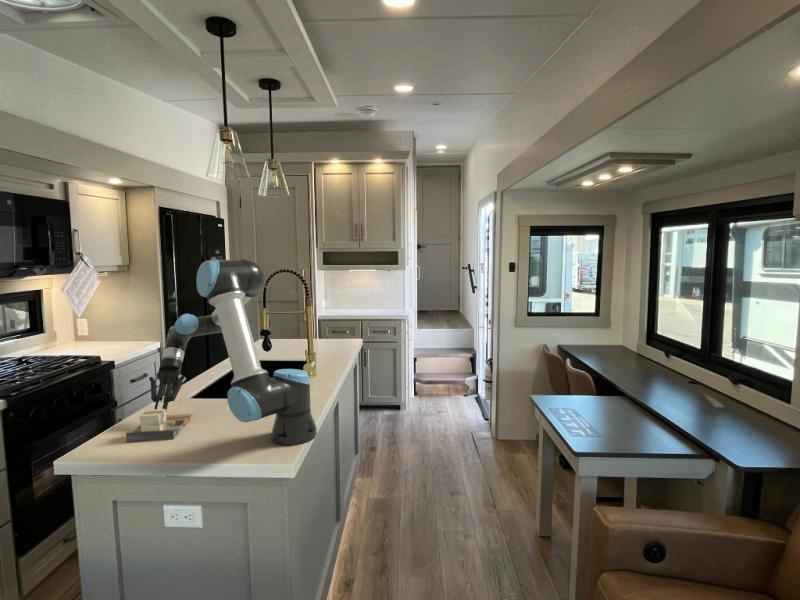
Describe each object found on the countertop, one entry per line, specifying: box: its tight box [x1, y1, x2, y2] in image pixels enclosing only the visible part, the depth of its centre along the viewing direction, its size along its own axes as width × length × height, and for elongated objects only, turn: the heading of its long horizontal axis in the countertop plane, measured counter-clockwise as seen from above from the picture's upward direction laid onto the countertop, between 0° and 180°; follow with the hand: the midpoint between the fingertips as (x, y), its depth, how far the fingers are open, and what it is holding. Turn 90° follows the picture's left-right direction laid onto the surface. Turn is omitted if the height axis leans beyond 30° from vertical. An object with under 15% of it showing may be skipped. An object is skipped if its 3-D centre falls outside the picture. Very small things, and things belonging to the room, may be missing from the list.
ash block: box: [139, 409, 167, 432], centre depth 155 cm, size 6×6×7 cm
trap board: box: [125, 413, 194, 443], centre depth 161 cm, size 20×15×3 cm
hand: (158, 419), depth 159 cm, fingers closed
